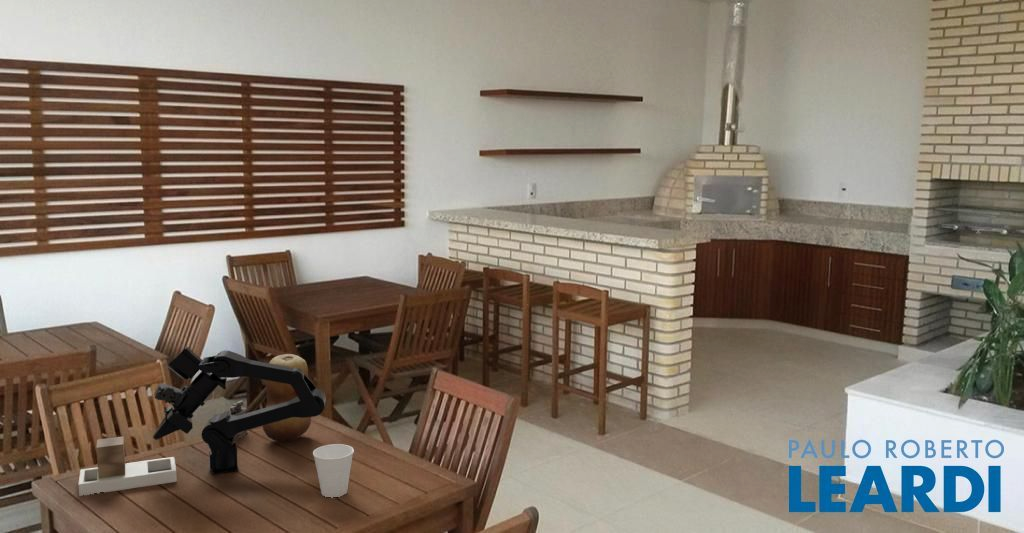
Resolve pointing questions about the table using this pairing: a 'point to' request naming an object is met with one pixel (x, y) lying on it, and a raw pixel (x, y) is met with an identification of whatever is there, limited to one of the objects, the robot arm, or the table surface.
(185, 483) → the table surface
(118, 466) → the walnut block
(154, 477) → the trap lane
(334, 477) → the cup
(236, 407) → the lighter
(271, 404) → the butternut squash
